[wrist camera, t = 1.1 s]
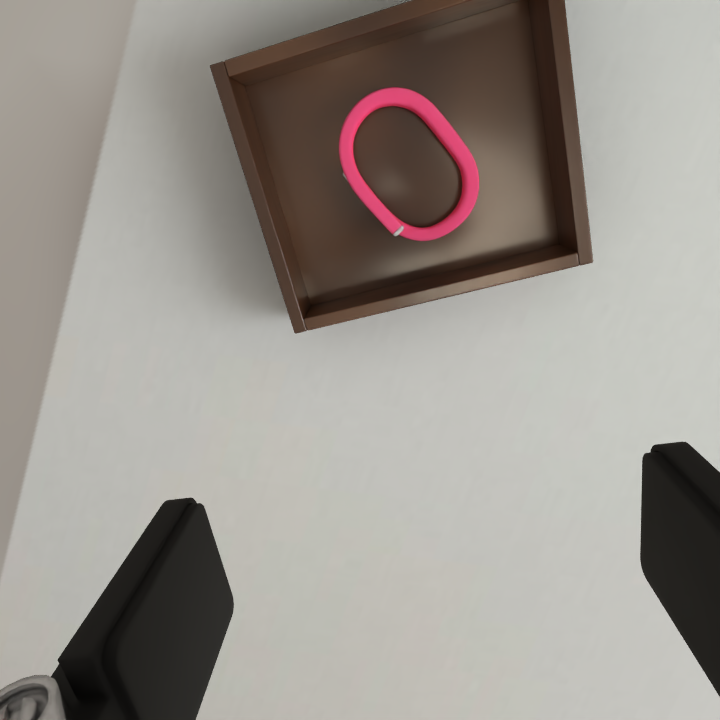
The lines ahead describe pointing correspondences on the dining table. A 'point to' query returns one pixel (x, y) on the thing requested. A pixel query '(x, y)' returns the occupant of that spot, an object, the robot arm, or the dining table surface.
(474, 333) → the dining table surface
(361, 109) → the fitness band
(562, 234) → the walnut tray
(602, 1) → the dining table surface
